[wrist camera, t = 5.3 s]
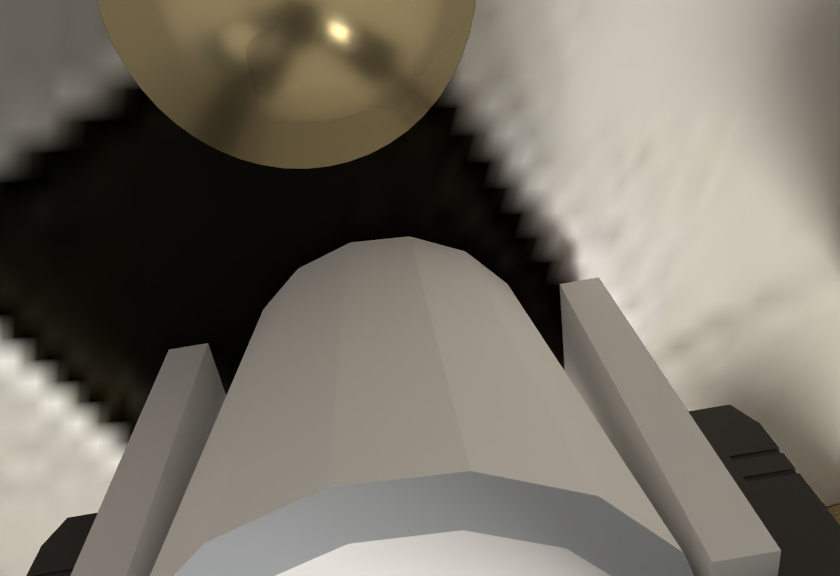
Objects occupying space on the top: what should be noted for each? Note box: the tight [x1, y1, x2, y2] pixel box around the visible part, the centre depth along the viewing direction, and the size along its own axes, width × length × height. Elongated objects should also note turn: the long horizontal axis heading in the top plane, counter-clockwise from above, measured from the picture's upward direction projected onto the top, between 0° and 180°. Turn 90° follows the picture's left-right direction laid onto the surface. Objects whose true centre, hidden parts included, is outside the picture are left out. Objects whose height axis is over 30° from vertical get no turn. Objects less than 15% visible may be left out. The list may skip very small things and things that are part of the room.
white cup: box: [150, 236, 694, 576], centre depth 11 cm, size 7×7×7 cm
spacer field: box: [97, 0, 840, 524], centre depth 12 cm, size 25×18×6 cm
